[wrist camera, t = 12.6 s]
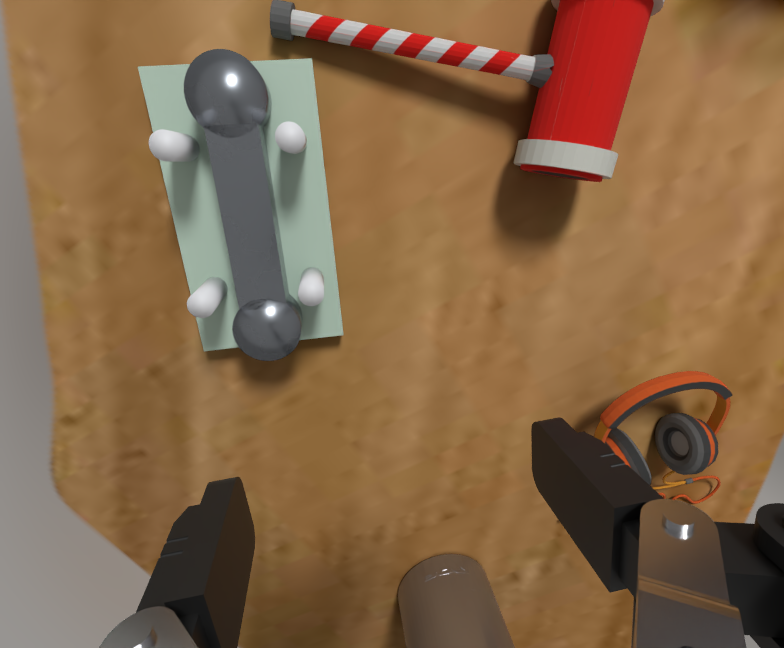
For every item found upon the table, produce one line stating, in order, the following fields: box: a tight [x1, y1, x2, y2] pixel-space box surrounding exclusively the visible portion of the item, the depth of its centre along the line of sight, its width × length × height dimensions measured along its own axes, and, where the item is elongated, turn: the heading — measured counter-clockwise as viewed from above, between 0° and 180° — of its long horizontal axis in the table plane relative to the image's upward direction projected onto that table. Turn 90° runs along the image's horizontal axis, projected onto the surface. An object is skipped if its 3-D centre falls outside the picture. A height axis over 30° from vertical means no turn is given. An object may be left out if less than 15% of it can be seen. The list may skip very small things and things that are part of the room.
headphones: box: [594, 371, 732, 504], centre depth 41 cm, size 17×5×20 cm
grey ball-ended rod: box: [184, 49, 303, 361], centre depth 29 cm, size 18×4×3 cm, turn 4°
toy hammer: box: [270, 0, 665, 182], centre depth 27 cm, size 23×12×6 cm, turn 81°
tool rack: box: [138, 58, 343, 351], centre depth 29 cm, size 18×10×6 cm, turn 4°
